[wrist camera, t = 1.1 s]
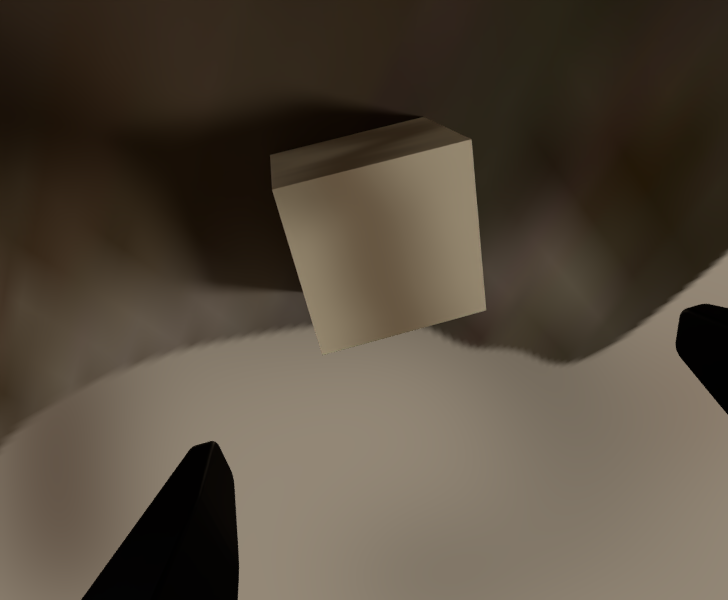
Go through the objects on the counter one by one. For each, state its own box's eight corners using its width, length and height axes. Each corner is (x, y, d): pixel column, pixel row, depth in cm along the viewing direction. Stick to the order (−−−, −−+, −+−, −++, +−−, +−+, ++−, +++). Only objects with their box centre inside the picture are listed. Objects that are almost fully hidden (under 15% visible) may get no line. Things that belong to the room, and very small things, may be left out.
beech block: (422, 116, 18) (471, 139, 14) (441, 255, 21) (486, 310, 17) (269, 154, 18) (272, 189, 14) (310, 290, 21) (322, 355, 17)
